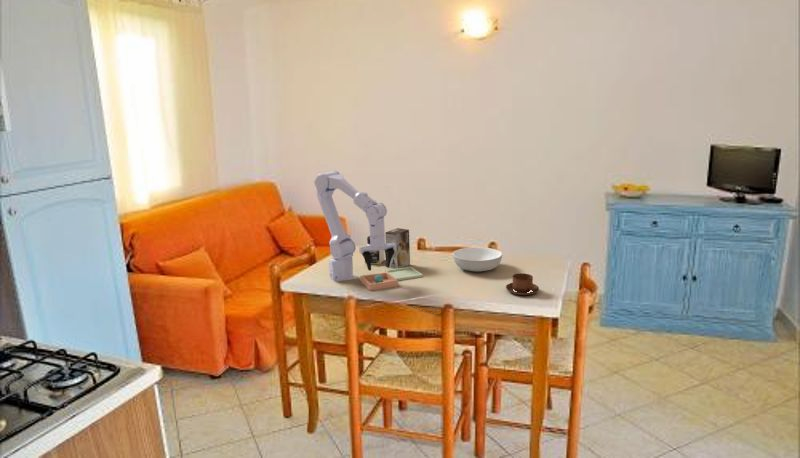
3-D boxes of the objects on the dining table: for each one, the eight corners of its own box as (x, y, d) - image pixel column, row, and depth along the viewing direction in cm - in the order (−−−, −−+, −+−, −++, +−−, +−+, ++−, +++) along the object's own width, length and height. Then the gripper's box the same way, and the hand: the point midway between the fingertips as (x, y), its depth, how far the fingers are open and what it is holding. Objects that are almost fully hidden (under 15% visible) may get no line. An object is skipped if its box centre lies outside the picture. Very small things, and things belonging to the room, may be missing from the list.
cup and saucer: (544, 291, 207) (545, 275, 205) (528, 300, 198) (529, 284, 197) (516, 284, 214) (516, 269, 213) (499, 293, 206) (500, 277, 204)
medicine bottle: (364, 263, 245) (363, 237, 243) (370, 259, 252) (369, 233, 249) (379, 264, 243) (378, 238, 241) (384, 259, 250) (384, 234, 247)
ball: (376, 285, 215) (375, 276, 214) (373, 282, 218) (372, 274, 217) (384, 284, 216) (384, 275, 215) (381, 281, 220) (381, 273, 219)
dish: (369, 291, 210) (369, 284, 209) (360, 282, 221) (360, 275, 220) (398, 287, 214) (397, 280, 214) (387, 278, 225) (387, 271, 224)
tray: (395, 282, 220) (395, 278, 220) (384, 273, 231) (384, 270, 230) (422, 277, 224) (422, 274, 224) (411, 269, 235) (410, 266, 235)
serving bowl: (499, 261, 244) (500, 246, 242) (503, 276, 224) (504, 260, 222) (452, 261, 246) (452, 246, 244) (452, 276, 226) (452, 260, 224)
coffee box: (398, 262, 246) (398, 227, 242) (410, 264, 242) (409, 229, 238) (386, 267, 239) (385, 231, 235) (397, 270, 235) (396, 233, 231)
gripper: (362, 239, 206) (364, 273, 210) (398, 234, 212) (399, 268, 215) (356, 235, 213) (358, 268, 216) (391, 231, 218) (392, 263, 221)
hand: (378, 268), depth 216 cm, fingers open, 7 cm apart
